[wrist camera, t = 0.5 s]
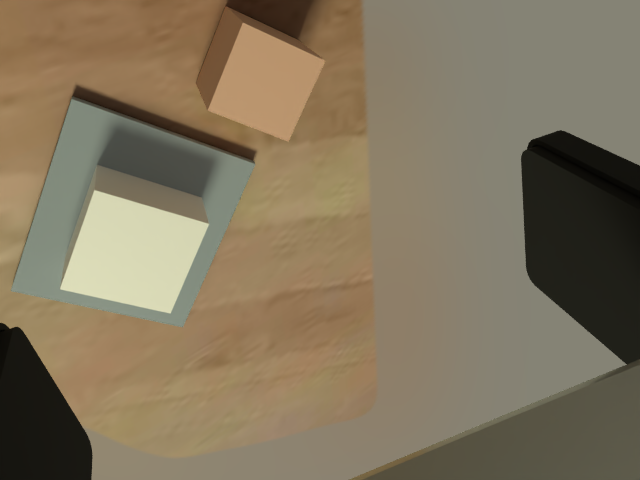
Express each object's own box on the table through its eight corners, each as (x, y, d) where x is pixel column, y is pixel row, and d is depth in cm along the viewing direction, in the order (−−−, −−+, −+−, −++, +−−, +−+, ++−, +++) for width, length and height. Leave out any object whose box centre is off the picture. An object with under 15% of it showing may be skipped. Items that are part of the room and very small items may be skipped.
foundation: (72, 96, 36) (66, 119, 32) (253, 160, 41) (267, 187, 37) (12, 286, 41) (0, 326, 37) (182, 322, 46) (187, 361, 42)
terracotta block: (225, 5, 36) (242, 22, 31) (298, 40, 38) (325, 60, 33) (195, 82, 38) (207, 110, 33) (267, 111, 40) (288, 141, 35)
